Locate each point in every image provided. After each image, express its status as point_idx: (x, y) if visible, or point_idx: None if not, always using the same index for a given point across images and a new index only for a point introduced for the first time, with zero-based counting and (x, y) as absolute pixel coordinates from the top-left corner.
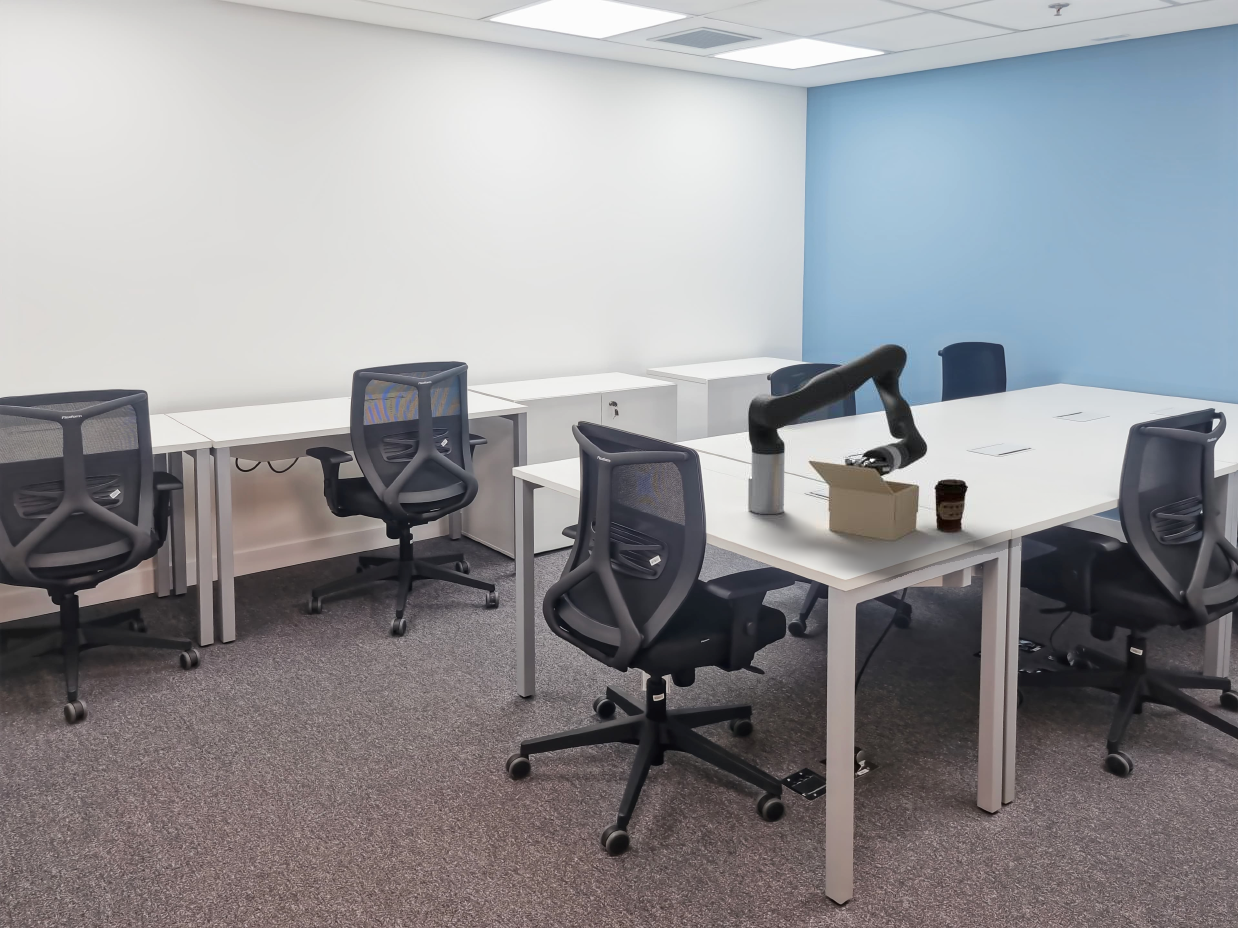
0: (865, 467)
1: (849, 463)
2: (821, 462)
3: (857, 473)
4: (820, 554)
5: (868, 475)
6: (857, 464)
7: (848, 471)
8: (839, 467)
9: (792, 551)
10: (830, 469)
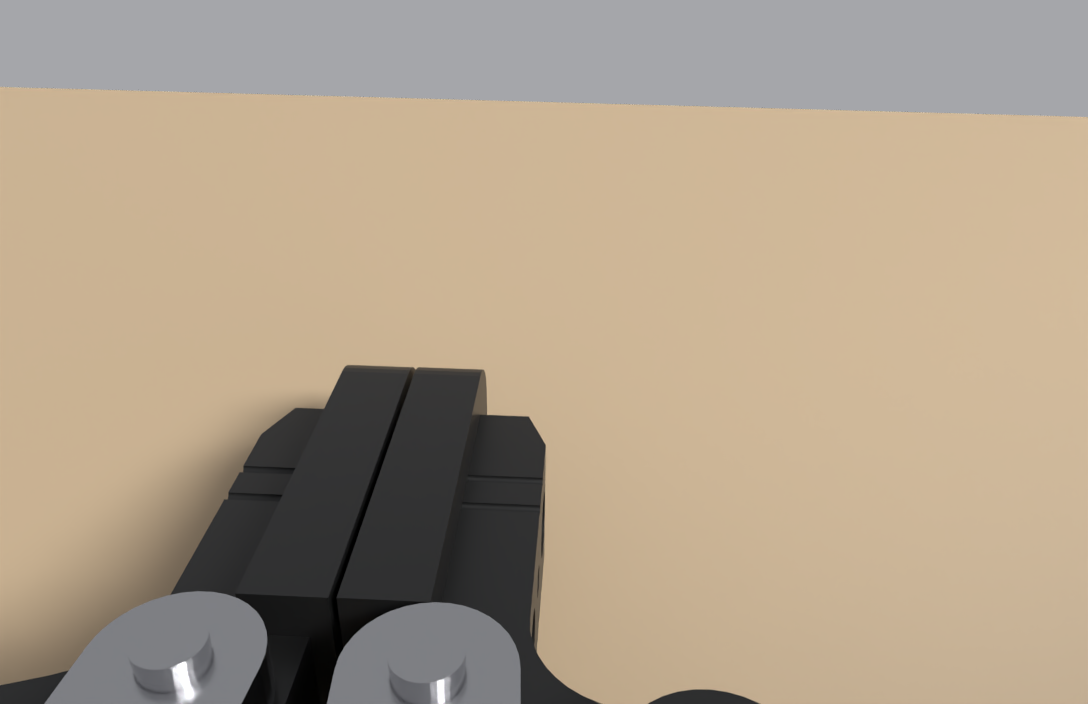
0: (62, 674)
1: (725, 697)
2: (889, 115)
3: (235, 298)
4: None
5: (24, 314)
6: (367, 639)
7: (404, 269)
8: (542, 167)
9: None
10: (783, 299)
